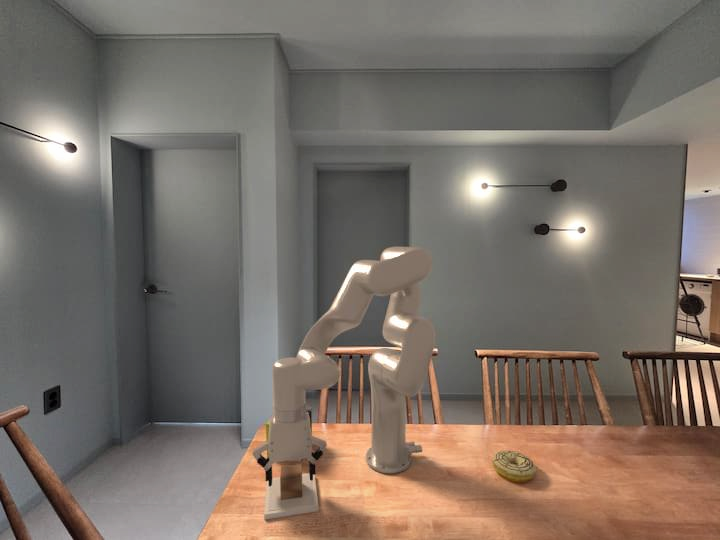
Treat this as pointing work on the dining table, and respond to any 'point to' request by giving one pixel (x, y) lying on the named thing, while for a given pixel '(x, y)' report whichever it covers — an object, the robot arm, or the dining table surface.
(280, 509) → the plate
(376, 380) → the robot arm
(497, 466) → the decorated donut
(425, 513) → the dining table surface
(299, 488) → the walnut cube
